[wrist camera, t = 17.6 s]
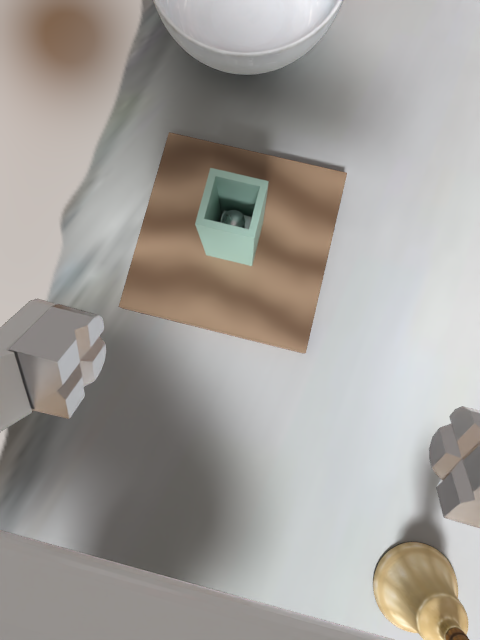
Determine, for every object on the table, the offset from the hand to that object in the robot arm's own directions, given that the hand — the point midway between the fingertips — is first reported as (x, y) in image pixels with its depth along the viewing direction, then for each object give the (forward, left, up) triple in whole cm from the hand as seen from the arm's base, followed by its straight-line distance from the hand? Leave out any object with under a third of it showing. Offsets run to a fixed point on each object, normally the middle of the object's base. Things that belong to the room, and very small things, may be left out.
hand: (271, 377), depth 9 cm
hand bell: (-7, -26, -32) cm, 42 cm away
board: (+9, +10, -31) cm, 34 cm away
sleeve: (+9, +10, -30) cm, 33 cm away
